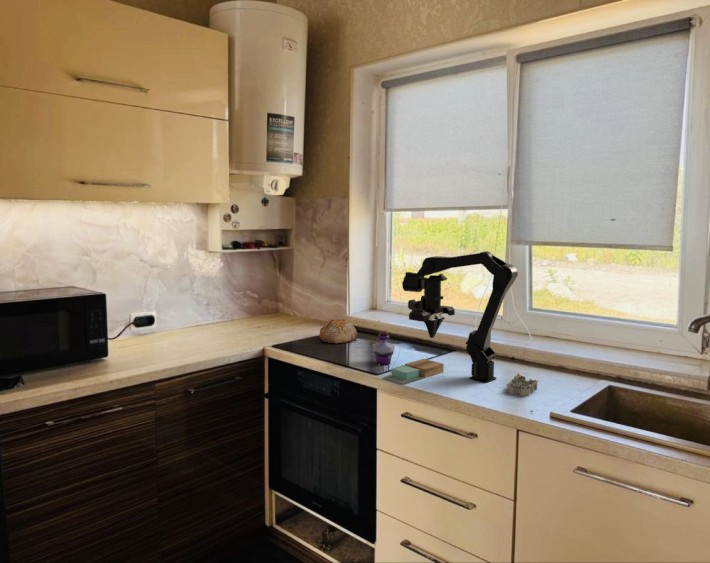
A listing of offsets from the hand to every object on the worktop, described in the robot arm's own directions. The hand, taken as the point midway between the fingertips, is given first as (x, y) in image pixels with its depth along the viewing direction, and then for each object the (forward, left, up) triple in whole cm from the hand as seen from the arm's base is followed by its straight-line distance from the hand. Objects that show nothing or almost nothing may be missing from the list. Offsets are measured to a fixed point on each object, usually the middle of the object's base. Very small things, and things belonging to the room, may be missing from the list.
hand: (431, 337), depth 190 cm
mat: (+1, +14, -12) cm, 18 cm away
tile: (+1, +12, -10) cm, 16 cm away
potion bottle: (+18, +5, -12) cm, 22 cm away
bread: (+59, -9, -12) cm, 60 cm away
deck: (+1, +3, -12) cm, 12 cm away
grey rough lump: (-33, -4, -12) cm, 36 cm away
